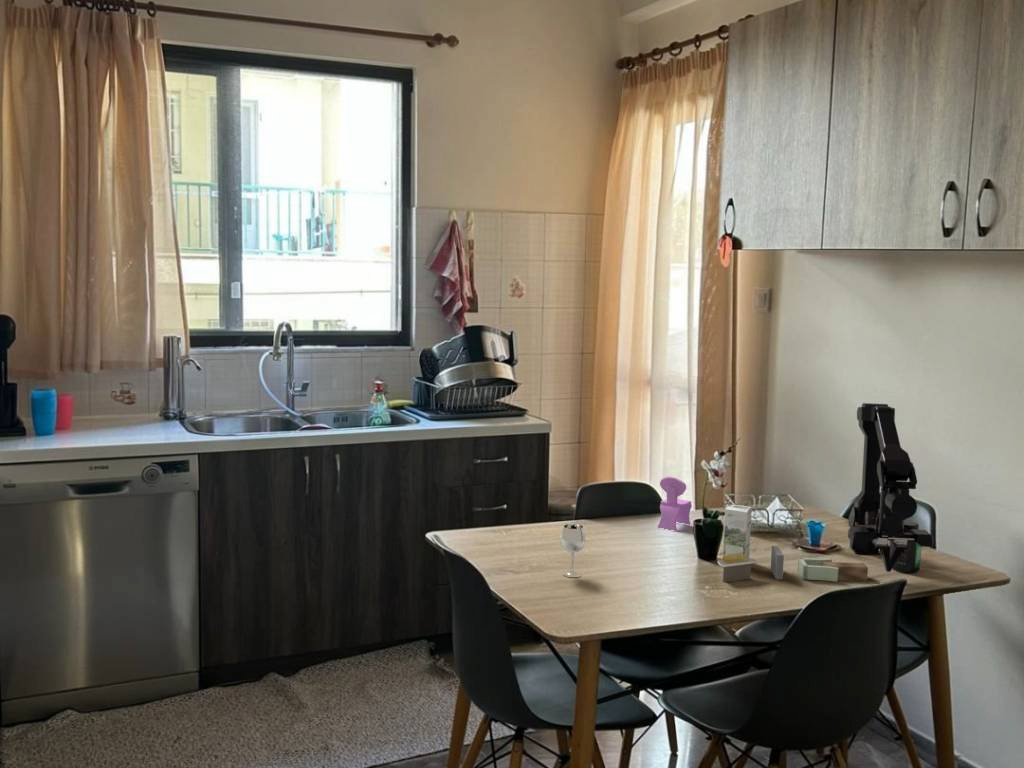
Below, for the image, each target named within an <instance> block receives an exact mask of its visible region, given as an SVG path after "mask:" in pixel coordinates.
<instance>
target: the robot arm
mask: <svg viewBox="0 0 1024 768" xmlns="http://www.w3.org/2000/svg"><path fill="white" fill-rule="evenodd" d="M895 415H896V408H894V407H891V406H889V405H888V404H887V403H870V402H869V403H867V402H864V403H863V402H862V404H861V406H859V407H857V410H856V419H857V421H858V428H859V429H860V431H861V432H862V434H863V436H864V437H863V441H864V442H863V459H862V476H861V491H860V492H859V493H858V495H857V496H856V497H855V499H854V502H853V503H854V505H853V507H852V508H851V510H850V513H849V516H848V526H849V529H848V531H847V538H848V540H849V548H850V549H851V550H852V551H853V553H855V554H856V555H857V554H858V555H881V558H882V562H883V566H884V569H885V571H886V572H887V573H888V572H889V573H890V572H891V571H892V570H893V569H892V568H893V566H894V564H895V562H896V560H897V559H898V557H899V556H900V555H901V553H902V552H903V551H904V550H905V549H908V546H907V541H915V542H917V543H918V544H919V545H920V546H921V547H922V548H923V547H924V548H927V547H928V548H932V547H934V544H935V543H934V541H935V538H934V536H933V534H931V533H929V531H927V530H926V529H919V530H915V529H911V531H910V533H905V532H903V531H904V521H907V519H910V518H912V517H913V516H914V515H915V514H916V513H917V509H918V504H917V501H916V499H915V498H914V497H913V496H912V495H911V494H910V490H916V489H917V487H916V485H917V484H918V479H917V474H916V469H915V466H914V463H913V462H912V461H911V458H910V456H909V453H908V452H907V451H905V450H904V449H903V448H902V446H901V443H900V437H899V434H898V429H897V424H896V422H895V421H896V419H895V418H896V416H895ZM888 542H889V544H888Z"/></svg>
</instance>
